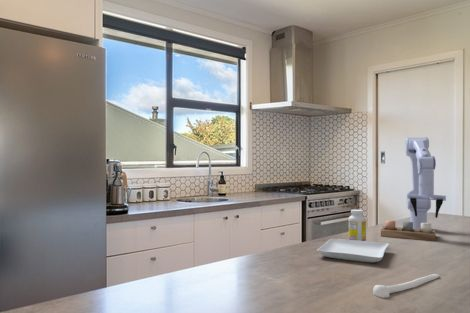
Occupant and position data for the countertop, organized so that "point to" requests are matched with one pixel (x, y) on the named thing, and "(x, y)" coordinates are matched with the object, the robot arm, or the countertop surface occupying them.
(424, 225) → the white rounded cylinder
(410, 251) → the countertop surface
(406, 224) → the grey rounded piece
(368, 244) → the salad plate
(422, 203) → the robot arm
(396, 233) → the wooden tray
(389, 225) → the peach rounded cylinder
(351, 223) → the supplement bottle
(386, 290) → the white long rod
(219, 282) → the countertop surface
